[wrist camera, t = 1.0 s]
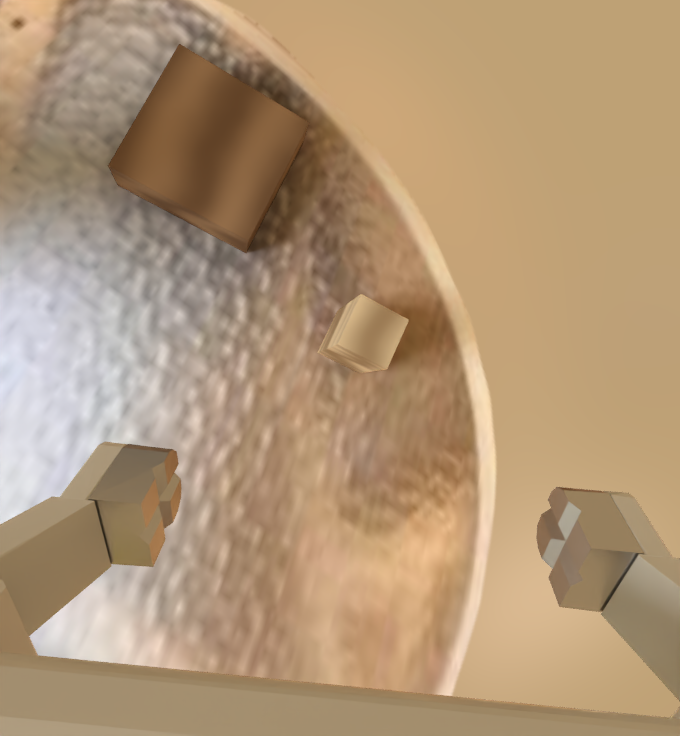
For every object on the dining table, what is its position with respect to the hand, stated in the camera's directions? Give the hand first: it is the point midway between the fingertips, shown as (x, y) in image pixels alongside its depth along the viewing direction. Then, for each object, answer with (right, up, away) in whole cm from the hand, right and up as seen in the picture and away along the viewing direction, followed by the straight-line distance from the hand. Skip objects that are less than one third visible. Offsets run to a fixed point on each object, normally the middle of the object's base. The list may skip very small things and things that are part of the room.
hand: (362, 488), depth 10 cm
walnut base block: (-12, +21, +33) cm, 41 cm away
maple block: (0, +5, +35) cm, 35 cm away
